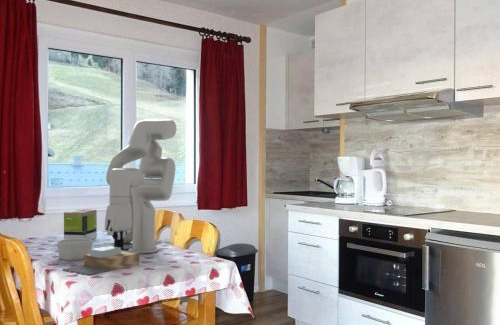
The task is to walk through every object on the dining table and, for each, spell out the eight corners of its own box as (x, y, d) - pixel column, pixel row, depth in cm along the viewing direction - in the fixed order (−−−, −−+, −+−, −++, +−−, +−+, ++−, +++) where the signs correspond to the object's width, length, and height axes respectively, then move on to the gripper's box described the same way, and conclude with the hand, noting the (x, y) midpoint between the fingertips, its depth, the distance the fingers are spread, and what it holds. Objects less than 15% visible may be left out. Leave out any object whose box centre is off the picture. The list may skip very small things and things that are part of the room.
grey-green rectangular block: (109, 252, 172) (109, 245, 172) (120, 254, 169) (120, 247, 169) (90, 256, 165) (90, 249, 165) (101, 258, 162) (101, 250, 162)
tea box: (78, 237, 234) (79, 208, 234) (97, 238, 233) (97, 209, 233) (62, 242, 219) (63, 211, 219) (82, 243, 218) (83, 212, 218)
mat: (83, 265, 167) (83, 264, 167) (110, 270, 160) (110, 269, 160) (62, 270, 159) (62, 269, 159) (89, 275, 152) (89, 274, 152)
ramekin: (81, 253, 191) (81, 237, 191) (99, 258, 182) (99, 240, 182) (50, 258, 180) (50, 240, 180) (67, 262, 172) (68, 244, 172)
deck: (113, 259, 179) (113, 249, 179) (139, 263, 172) (139, 253, 172) (83, 265, 167) (84, 254, 167) (110, 270, 160) (110, 259, 160)
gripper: (127, 199, 181) (126, 246, 180) (97, 201, 168) (96, 251, 167) (141, 200, 177) (140, 247, 177) (111, 202, 164) (110, 253, 164)
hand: (118, 249), depth 172 cm, fingers closed
